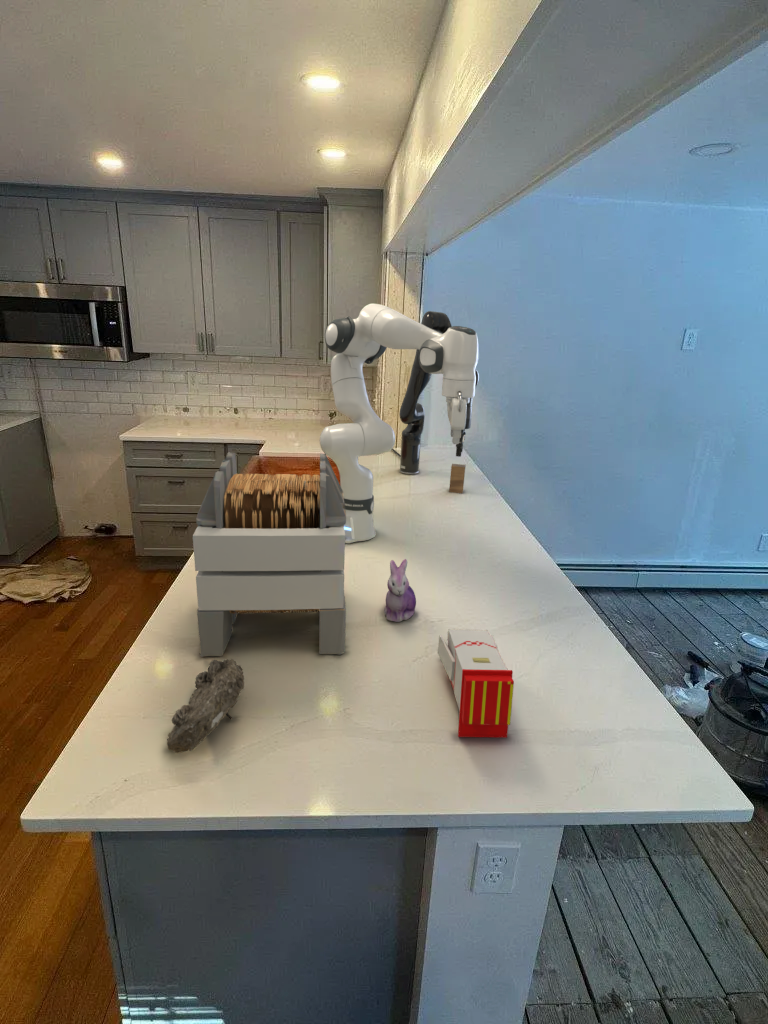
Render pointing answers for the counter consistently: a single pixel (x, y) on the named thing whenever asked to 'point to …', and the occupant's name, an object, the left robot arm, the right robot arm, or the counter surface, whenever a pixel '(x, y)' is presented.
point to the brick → (457, 478)
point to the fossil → (206, 705)
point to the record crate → (270, 552)
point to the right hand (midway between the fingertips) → (459, 454)
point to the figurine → (399, 594)
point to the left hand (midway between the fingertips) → (454, 440)
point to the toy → (478, 682)
